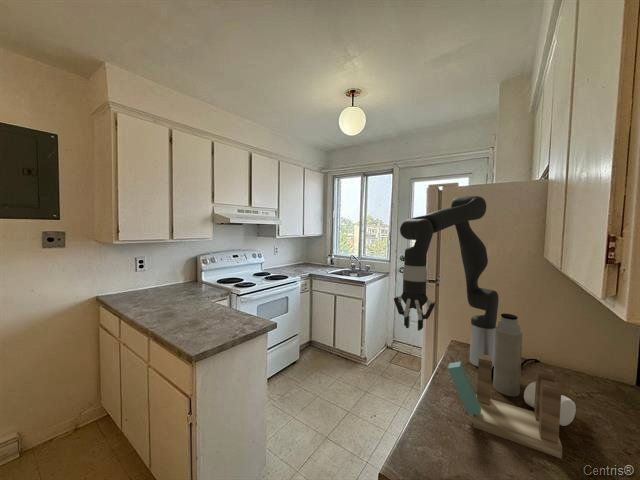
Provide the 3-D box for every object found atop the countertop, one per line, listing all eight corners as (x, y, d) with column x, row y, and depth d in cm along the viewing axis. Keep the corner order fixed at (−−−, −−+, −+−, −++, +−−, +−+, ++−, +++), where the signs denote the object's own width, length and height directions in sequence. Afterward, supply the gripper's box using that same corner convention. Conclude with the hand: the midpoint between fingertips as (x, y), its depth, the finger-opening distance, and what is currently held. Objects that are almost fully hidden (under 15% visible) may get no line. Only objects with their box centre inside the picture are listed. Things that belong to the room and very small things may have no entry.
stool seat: (474, 402, 90) (476, 352, 89) (551, 427, 79) (554, 369, 78) (472, 426, 79) (475, 369, 78) (561, 458, 68) (565, 392, 68)
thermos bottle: (519, 388, 98) (523, 314, 97) (519, 399, 92) (523, 320, 91) (493, 380, 103) (497, 310, 102) (492, 390, 97) (495, 315, 95)
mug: (556, 428, 79) (558, 402, 78) (522, 406, 88) (524, 383, 88) (584, 421, 82) (586, 396, 82) (549, 400, 92) (550, 378, 91)
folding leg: (467, 408, 84) (447, 363, 86) (481, 407, 81) (460, 361, 84) (466, 415, 80) (446, 368, 83) (481, 414, 78) (459, 366, 81)
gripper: (439, 279, 88) (437, 329, 89) (397, 274, 96) (395, 321, 97) (435, 282, 82) (433, 337, 83) (390, 277, 90) (389, 327, 90)
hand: (413, 328), depth 90 cm, fingers open, 3 cm apart
